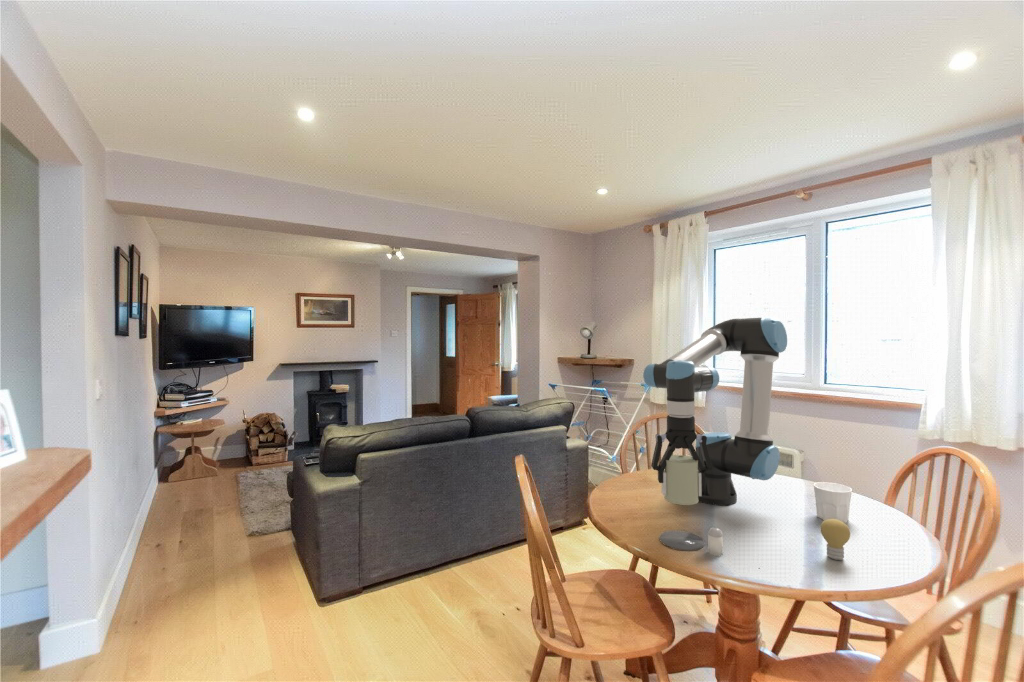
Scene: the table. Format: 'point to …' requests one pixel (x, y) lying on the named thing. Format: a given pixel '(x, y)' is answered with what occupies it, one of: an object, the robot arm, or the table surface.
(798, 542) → the table surface
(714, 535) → the salt shaker
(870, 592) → the table surface
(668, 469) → the can
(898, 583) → the table surface
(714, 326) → the robot arm
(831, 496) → the cup
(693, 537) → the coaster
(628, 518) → the table surface
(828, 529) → the light bulb
